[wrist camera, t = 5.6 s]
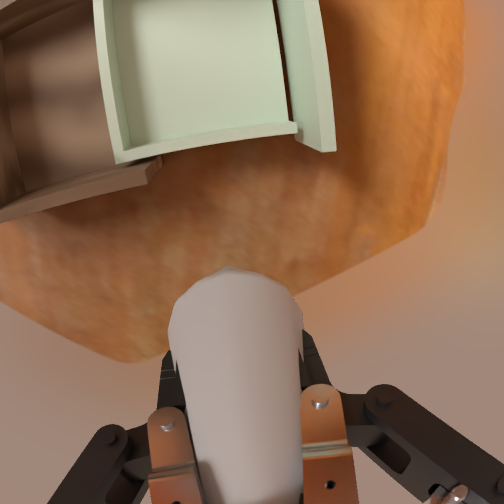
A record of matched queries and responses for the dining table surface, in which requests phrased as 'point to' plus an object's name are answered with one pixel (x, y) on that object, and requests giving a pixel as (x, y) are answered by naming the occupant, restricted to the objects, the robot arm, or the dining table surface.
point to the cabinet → (55, 111)
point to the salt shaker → (241, 385)
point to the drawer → (211, 73)
